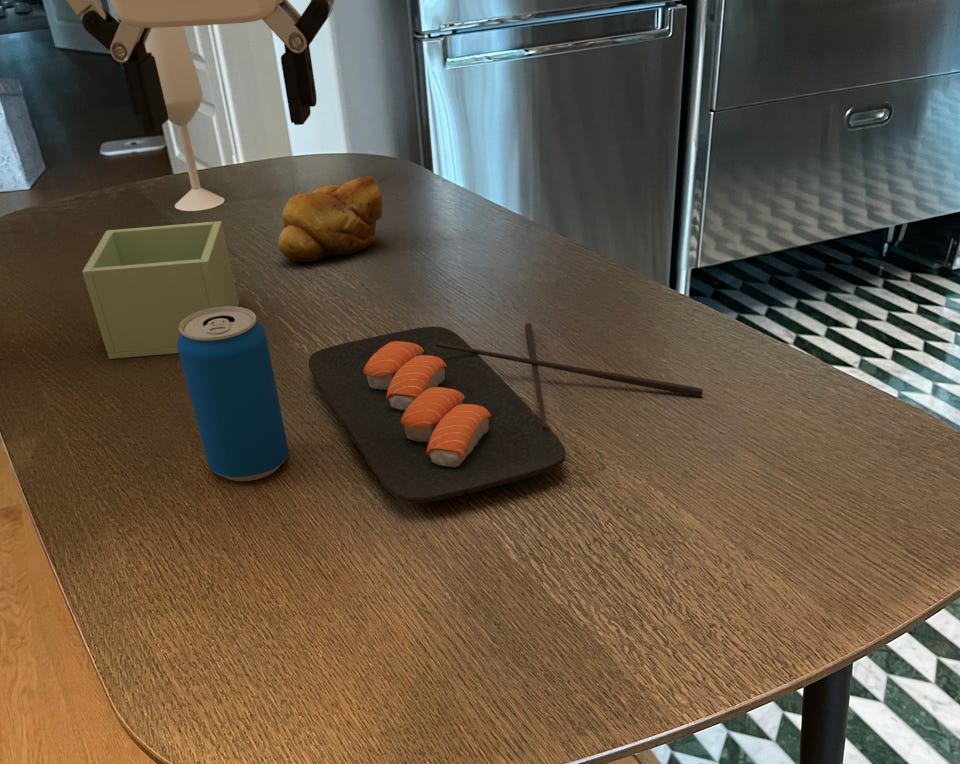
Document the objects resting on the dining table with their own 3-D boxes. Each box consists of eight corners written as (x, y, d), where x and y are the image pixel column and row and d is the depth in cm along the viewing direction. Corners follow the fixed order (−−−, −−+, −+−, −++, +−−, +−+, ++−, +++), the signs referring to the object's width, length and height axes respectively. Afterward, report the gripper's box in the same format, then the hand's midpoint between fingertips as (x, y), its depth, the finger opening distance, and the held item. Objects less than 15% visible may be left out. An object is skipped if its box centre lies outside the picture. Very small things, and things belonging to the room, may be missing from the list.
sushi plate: (302, 371, 94) (295, 332, 91) (590, 309, 101) (591, 271, 99) (400, 529, 73) (394, 483, 70) (754, 435, 80) (760, 391, 78)
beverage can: (289, 440, 84) (261, 299, 76) (291, 480, 79) (262, 333, 71) (211, 450, 83) (175, 309, 75) (208, 491, 78) (169, 344, 70)
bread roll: (298, 275, 113) (286, 201, 107) (261, 253, 119) (247, 182, 114) (396, 247, 118) (388, 175, 113) (355, 227, 124) (346, 158, 119)
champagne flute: (234, 200, 135) (192, -9, 120) (192, 214, 132) (143, 0, 116) (206, 192, 139) (161, -13, 123) (164, 205, 135) (113, -4, 120)
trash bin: (109, 359, 98) (81, 271, 92) (129, 312, 107) (106, 230, 101) (227, 349, 98) (208, 261, 93) (239, 303, 107) (221, 220, 102)
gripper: (-23, -211, 52) (80, 145, 63) (304, -235, 51) (351, 132, 62) (34, -211, 58) (119, 115, 69) (329, -233, 57) (367, 103, 68)
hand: (229, 123), depth 65 cm, fingers open, 9 cm apart
